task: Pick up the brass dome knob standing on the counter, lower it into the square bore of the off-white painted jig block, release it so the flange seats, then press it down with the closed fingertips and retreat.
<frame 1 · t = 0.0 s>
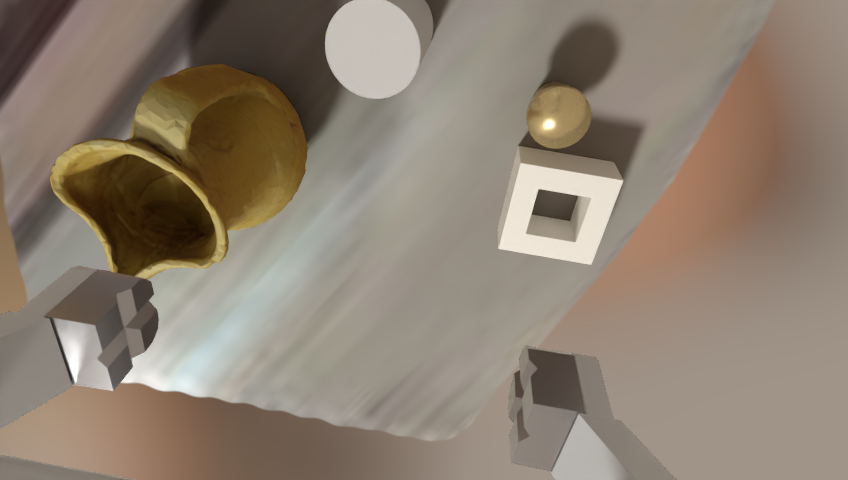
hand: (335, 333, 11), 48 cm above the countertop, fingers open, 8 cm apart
jig: (552, 196, 61), on the countertop
brass dome knob: (552, 102, 55), on the countertop
white cylinder: (394, 25, 53), on the countertop
pitcher: (258, 121, 60), on the countertop
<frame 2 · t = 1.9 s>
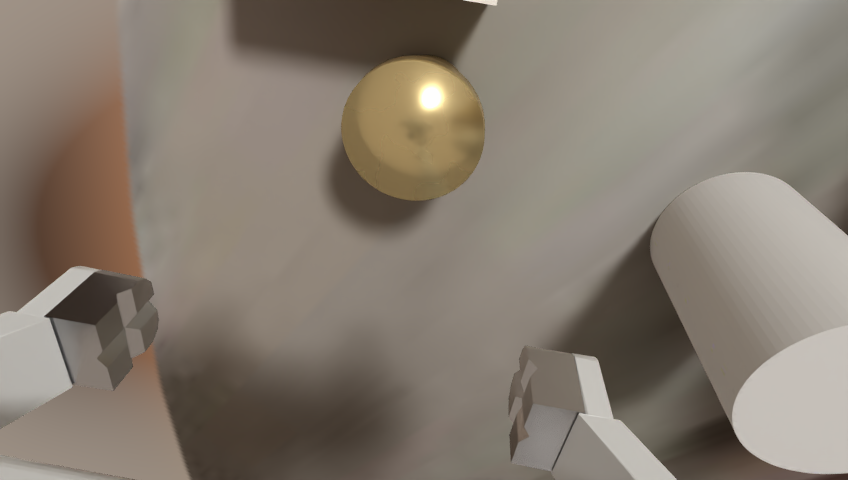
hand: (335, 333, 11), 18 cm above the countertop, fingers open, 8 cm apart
brass dome knob: (426, 98, 27), on the countertop
white cylinder: (724, 236, 29), on the countertop
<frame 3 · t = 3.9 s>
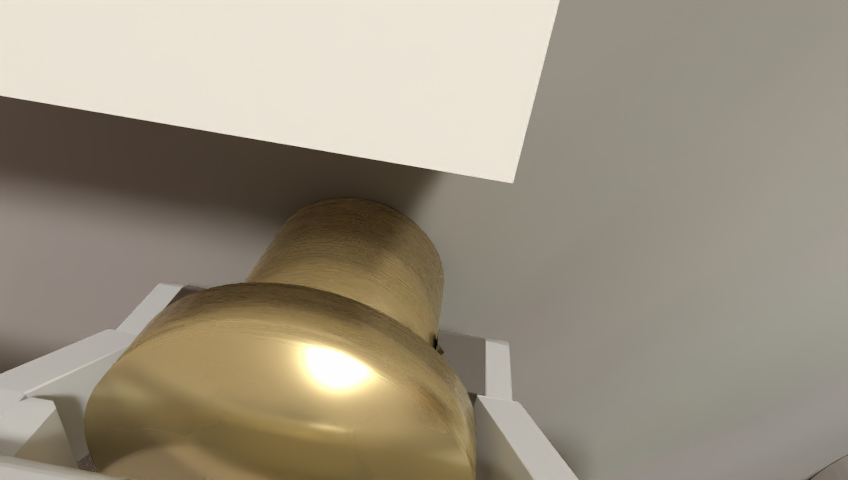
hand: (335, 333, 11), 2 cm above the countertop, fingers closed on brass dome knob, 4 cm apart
brass dome knob: (357, 275, 13), on the countertop, touching gripper
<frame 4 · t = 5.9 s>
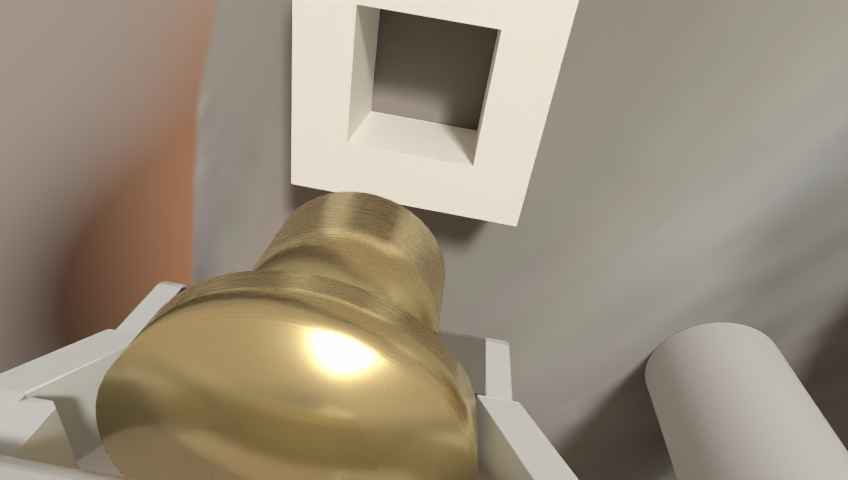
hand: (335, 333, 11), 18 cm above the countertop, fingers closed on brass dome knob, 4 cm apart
jig: (432, 65, 26), on the countertop
brass dome knob: (359, 268, 13), point 16 cm above the countertop, touching gripper
white cylinder: (709, 368, 34), on the countertop
when the fingers open (6 cm above the countertop, at t = 8.1 s): brass dome knob stays where it is, point 2 cm above the countertop.
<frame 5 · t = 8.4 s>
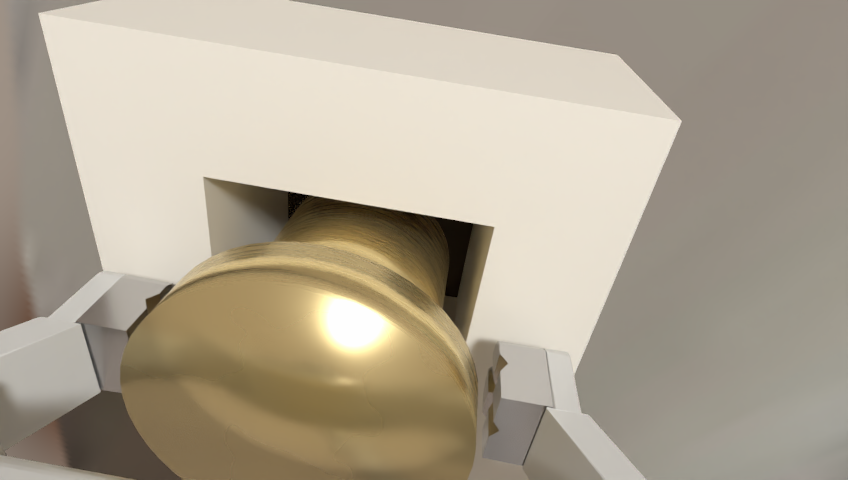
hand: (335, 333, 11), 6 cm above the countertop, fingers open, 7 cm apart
jig: (380, 208, 16), on the countertop
brass dome knob: (367, 255, 14), point 2 cm above the countertop
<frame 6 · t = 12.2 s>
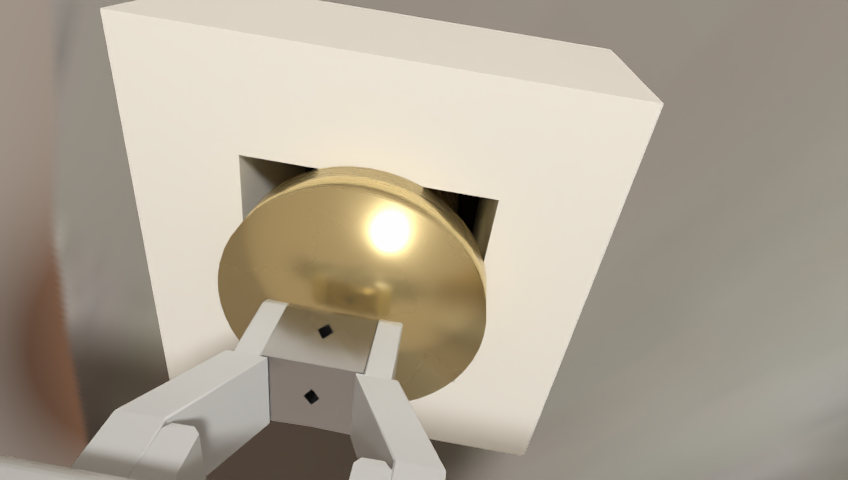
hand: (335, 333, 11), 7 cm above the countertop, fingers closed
jig: (391, 192, 17), on the countertop
brass dome knob: (390, 199, 17), resting in jig
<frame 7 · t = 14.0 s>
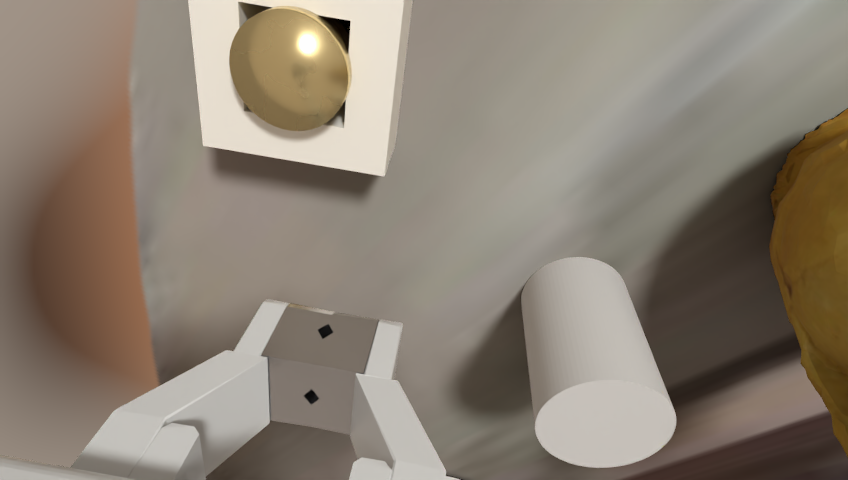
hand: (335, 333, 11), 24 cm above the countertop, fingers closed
jig: (318, 47, 32), on the countertop
brass dome knob: (317, 49, 31), resting in jig
white cylinder: (572, 297, 41), on the countertop
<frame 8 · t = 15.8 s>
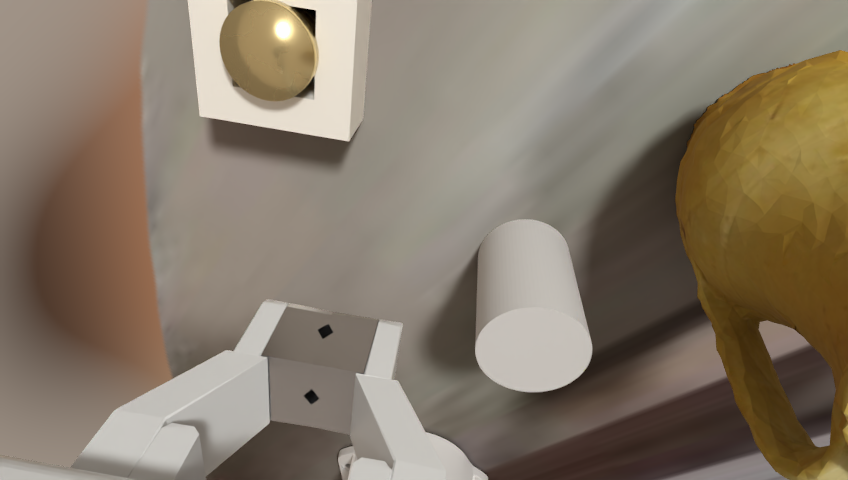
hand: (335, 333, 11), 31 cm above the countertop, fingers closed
jig: (296, 36, 38), on the countertop
brass dome knob: (294, 37, 38), resting in jig
white cylinder: (522, 257, 47), on the countertop
pitcher: (755, 152, 39), on the countertop
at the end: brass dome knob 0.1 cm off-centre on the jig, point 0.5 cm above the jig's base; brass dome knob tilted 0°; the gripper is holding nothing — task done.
